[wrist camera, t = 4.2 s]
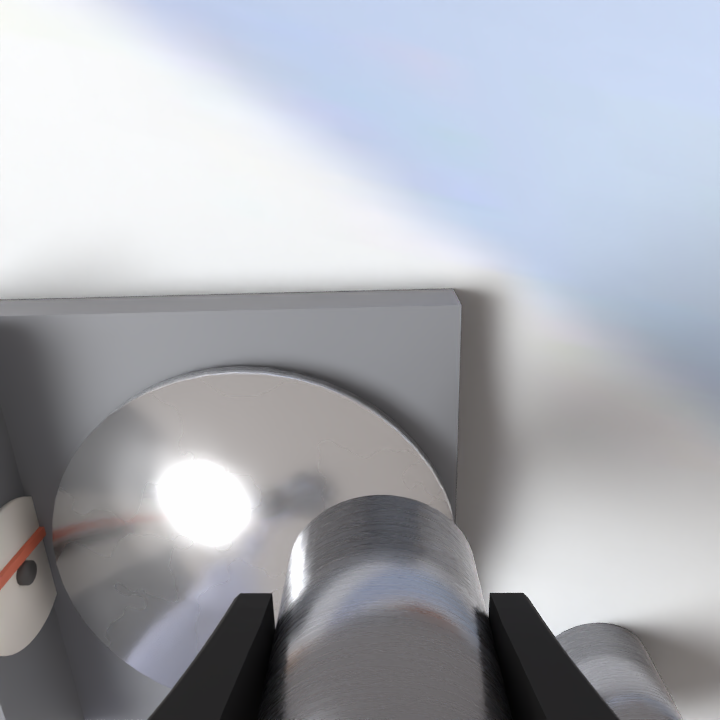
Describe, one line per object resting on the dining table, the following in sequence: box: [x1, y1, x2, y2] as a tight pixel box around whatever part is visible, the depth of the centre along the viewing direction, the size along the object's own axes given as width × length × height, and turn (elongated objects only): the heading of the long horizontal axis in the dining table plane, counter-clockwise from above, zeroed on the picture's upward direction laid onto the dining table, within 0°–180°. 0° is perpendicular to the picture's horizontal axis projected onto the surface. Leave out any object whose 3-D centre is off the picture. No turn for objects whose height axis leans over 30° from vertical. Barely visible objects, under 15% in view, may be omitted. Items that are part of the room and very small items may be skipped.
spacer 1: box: [257, 495, 512, 720], centre depth 10 cm, size 4×4×5 cm
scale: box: [0, 289, 462, 720], centre depth 18 cm, size 15×15×5 cm
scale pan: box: [52, 366, 454, 689], centre depth 18 cm, size 12×12×1 cm
